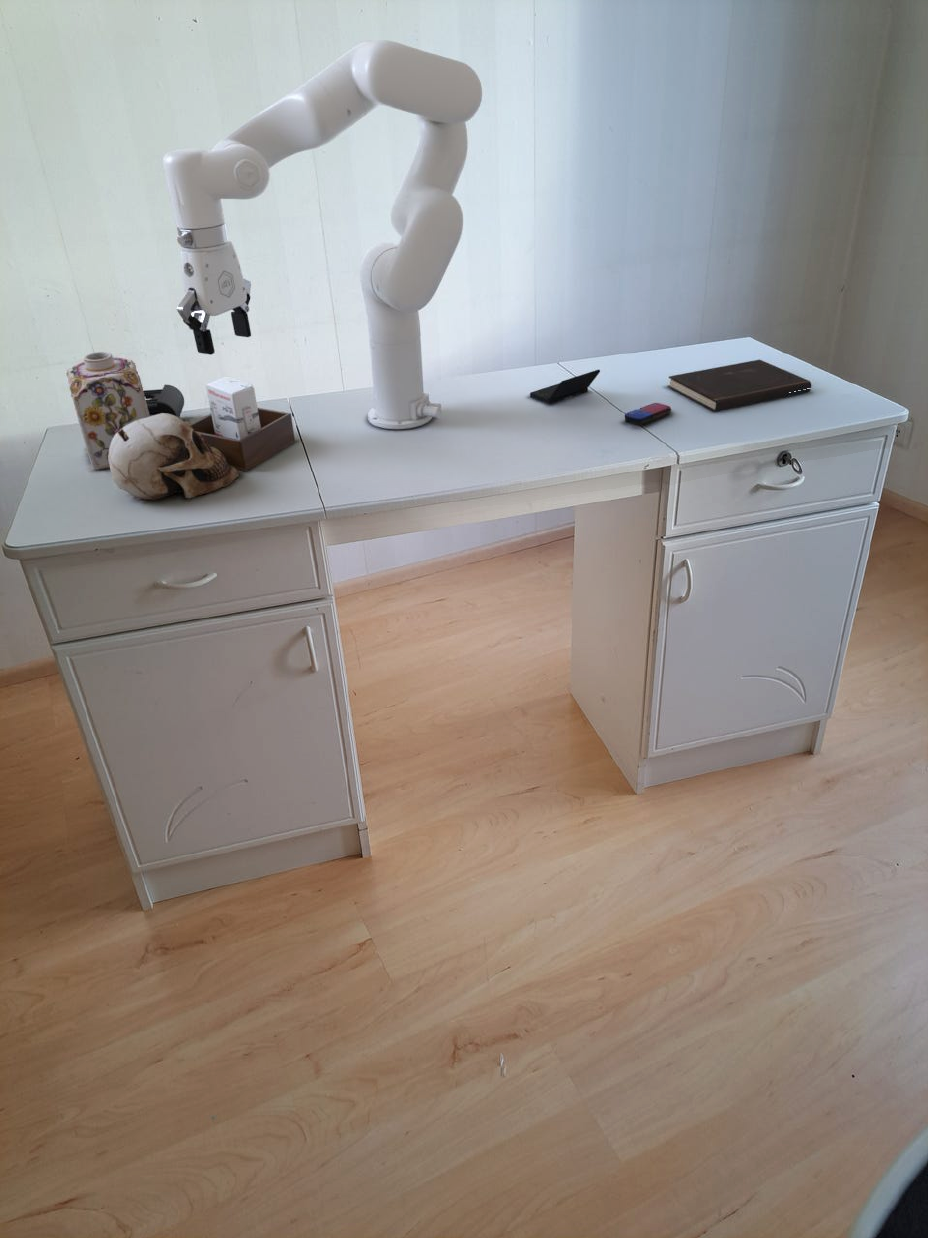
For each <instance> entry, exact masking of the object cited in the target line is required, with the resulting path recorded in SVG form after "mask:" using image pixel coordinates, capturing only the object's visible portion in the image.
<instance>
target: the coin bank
mask: <svg viewBox="0 0 928 1238" xmlns="http://www.w3.org/2000/svg"><path fill="white" fill-rule="evenodd" d="M190 424H191V423H189V422H187V421H184V420H183V419H181V418H180V417H176V416H174V415H171V414H168V413H161V414H157V415H153V416H149V417H147V418H143V419H139V420H136V421H134V422H132V423H130V424H128V425H126V426H125V427H123V428H122V429H121V430H119V431H118V432H117V433H116V434H115V436H114V438H113V439H112V442H111V444H110V448H109V455H108V460H109V464H110V468H109V469H110V474H111V478H112V480H113V483H114V484H115V485H116V487H117V488H118V489H120V490H123V491H125V492H127V493H128V494H129V495H131V496H132V497H133V498H134V499H141V500H146V501H147V500H151V501H157V500H159V499H163V498H165V497H169V496H173V495H175V494H176V493H177V494H178V493H183V494H184V497H185V498H186V499H194V498H196V497H197V496H202V495H206V494H211V493H212V492H214V491H217V490H219V489H221V488H224V487H228V486H229V485H230V484H231V483H232V482H233V481H235V479H237V478H239V477H240V473H239V470H237V469H235V468H234V467H232V466H231V465H228V464H227V462H226V459H225V457H224V456H223V454H222V453H221V452H220V451H219V450H218V449H216V448H214V447H210V446H209V445H208V444H207V443H206V441H205V439H204V438H201V434H200V433H196V432H195V430H194V429H193V428H192V427H191V425H190Z"/></svg>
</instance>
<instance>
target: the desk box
mask: <svg viewBox="0 0 928 1238" xmlns="http://www.w3.org/2000/svg"><path fill="white" fill-rule="evenodd" d="M257 408H258V414H259V420H260V426H261V429H259V430H258V431H256V432H254V433H252V434H250V435H249V436H247V437H245V438H243V439H242V440H237V439H232V438H227V437H222V436H217V435H215V431H214V426H213V420H212V415H211V413H209V414H208V415H206V416H204V417H202V418H200V419H198V420H196V421H194V422H192V423H189V424H190V425H191V427H192V428H193V429H194V430H195V432H196V433H200V434H201V438H204V439H205V441H206V443H207V444H208V445H209V446H210V447H214V448H216V449H218V450H219V451H220V452H221V453H222V454H223V456H224V457H225V459H226V462H227V464H228V465H231V466H232V467H234V468H235V469H236V470H237V471H242V472H248V471H250V470H251V469H253V468H254V467H256V466H258V465H260V464H261V463H262V462H264V461H266V460H268V459H269V458H271V457H273V456H274V455H276V454H278V453H279V452H281V451H282V450H285V448H287V447H289V446H290V445H292V444H294V443H295V442H296V439H295V431H294V425H293V418H292V413H291V412H285V411H280V410H275V409H274V410H273V409H268V408H263V407H257Z"/></svg>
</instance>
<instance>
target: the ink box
mask: <svg viewBox="0 0 928 1238" xmlns="http://www.w3.org/2000/svg"><path fill="white" fill-rule="evenodd" d="M205 388H206V393H207V399H208V405H209V408H210V409H209V410H210V414H211V415H212V420H213V426H214V431H215V435H217V436H222V437H227V438H232V439H237V440H242V439H243V438H245V437H247V436H249V435H250V434H252V433H254V432H256V431H258V430H259V429H261V426H260V420H259V414H258V408H259V407H258V403H257V397H256V392H255V387H254V385H253V384H251V383H248V382H247V381H242V380H240V379H237V378H235V377H231V376H223V377H221V378H218V379H215V380H213V381H210V382H208V383H205Z"/></svg>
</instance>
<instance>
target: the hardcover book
mask: <svg viewBox="0 0 928 1238" xmlns="http://www.w3.org/2000/svg"><path fill="white" fill-rule="evenodd" d="M668 379H669V380H670V381H669V385H667V388H668V389H670V390H672V391H674V392H675V393H678V394H680V395H681V396H683V397H685V398H687V399H689V400H691V401H693V402H695V403H696V404H698V405H700V406H702V407H704V408H705V409H708V410H709V411H711V412H719V411H723V410H728V409H733V408H738V407H744V406H748V405H753V404H757V403H762V402H768V401H771V400H773V401H774V400H777V399H778V400H779V399H782V398H786V397H792V396H796V395H801V394H807V393H810V392H811V389H812V381H811V380H809V379H806V378H804V377H802V376H800V375H797V374H794V373H792V372H790V371H787V370H785V369H783V368H780V367H778V366H776V365H773V364H771V363H769V362H767V361H765V360H762V359H754V360H750V361H745V362H739V363H733V364H727V365H723V366H718V367H712V368H706V369H702V370H701V369H700V370H695V371H691V372H685V373H681V374H680V373H679V374H674V375H669V376H668ZM807 388H811V389H807ZM803 389H806V390H803ZM798 390H801V391H798ZM794 391H796V392H794ZM789 392H791V393H789Z"/></svg>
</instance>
